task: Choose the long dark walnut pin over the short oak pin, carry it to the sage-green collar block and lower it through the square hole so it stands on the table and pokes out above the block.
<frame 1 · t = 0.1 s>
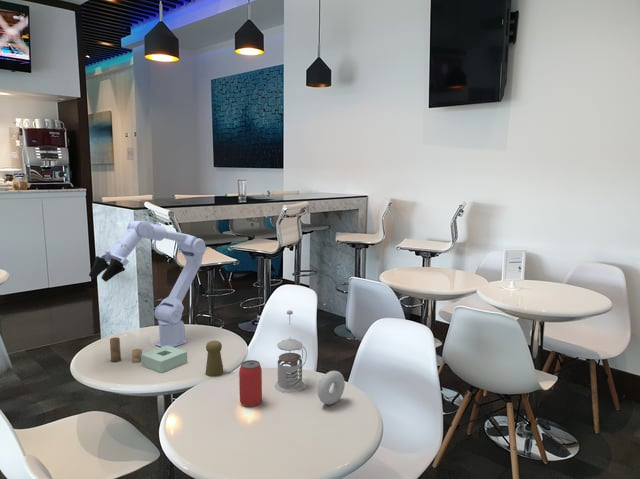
hand: (97, 278, 157), 32 cm above the table, tool tilted 50°, fingers open, 7 cm apart
beer can: (251, 402, 139), on the table
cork: (214, 373, 159), on the table
french press: (292, 385, 150), on the table
long pin: (116, 360, 168), on the table
short pin: (137, 361, 168), on the table
collar block: (164, 363, 166), on the table
donut: (331, 404, 138), on the table
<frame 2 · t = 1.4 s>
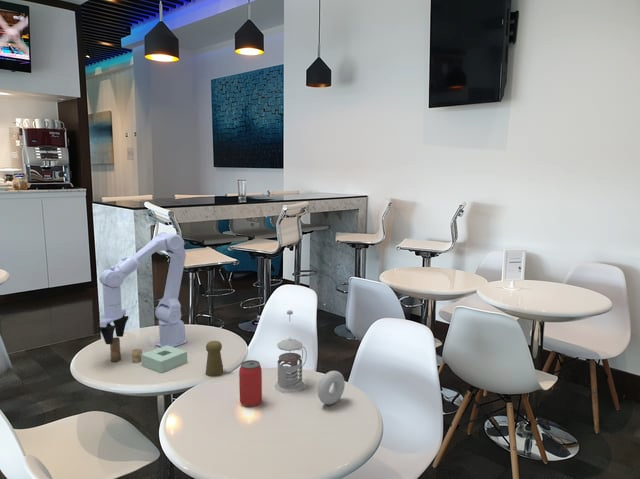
hand: (114, 340, 167), 8 cm above the table, tool pointing down, fingers open, 7 cm apart
nothing on the table moved.
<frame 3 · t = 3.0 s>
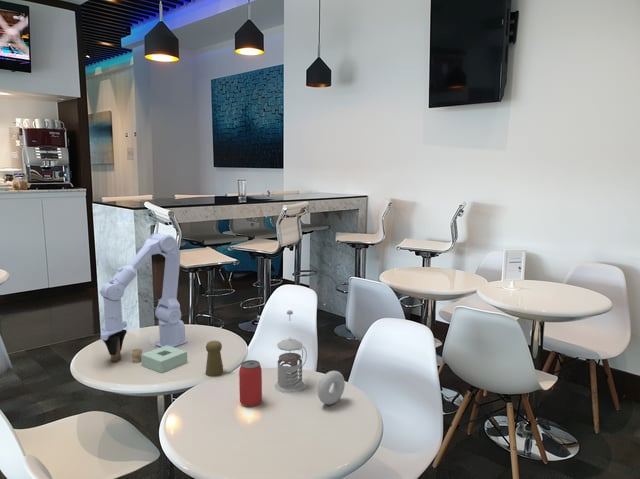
hand: (115, 352, 168), 3 cm above the table, tool pointing down, fingers closed on long pin, 3 cm apart
long pin: (116, 360, 168), on the table, touching gripper
everything else where it was.
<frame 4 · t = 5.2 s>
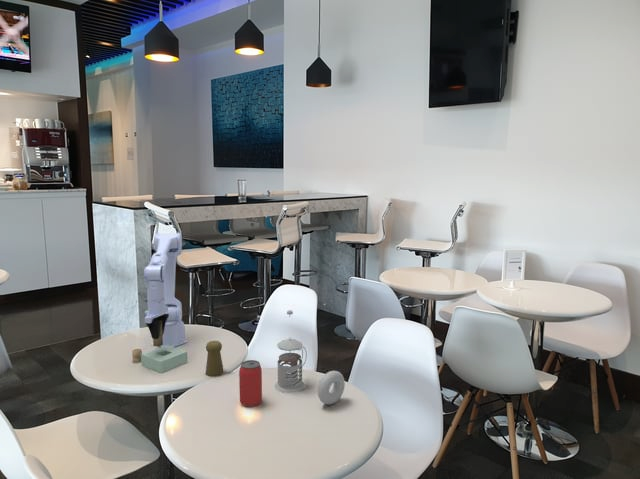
hand: (157, 336, 164), 10 cm above the table, tool pointing down, fingers closed on long pin, 3 cm apart
long pin: (158, 344, 165), point 7 cm above the table, touching gripper
everything else where it was.
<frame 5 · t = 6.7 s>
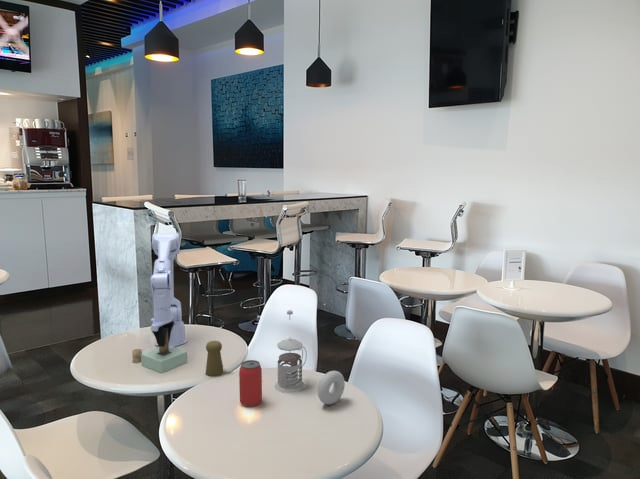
hand: (163, 344, 164), 7 cm above the table, tool pointing down, fingers closed on long pin, 3 cm apart
long pin: (164, 352, 165), point 4 cm above the table, touching gripper
everything else where it was.
when the fingers open (5 cm above the table, at t = 8.0 s): long pin drops 2 cm, resting in collar block.
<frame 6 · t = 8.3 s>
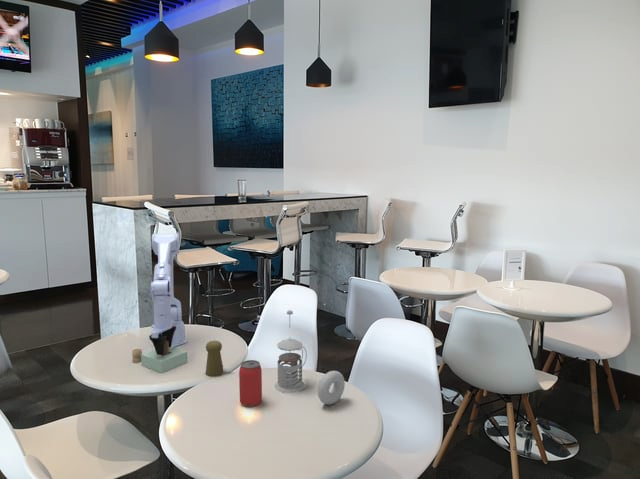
hand: (164, 350, 165), 5 cm above the table, tool pointing down, fingers open, 6 cm apart
long pin: (164, 363, 166), resting in collar block
everything else where it was.
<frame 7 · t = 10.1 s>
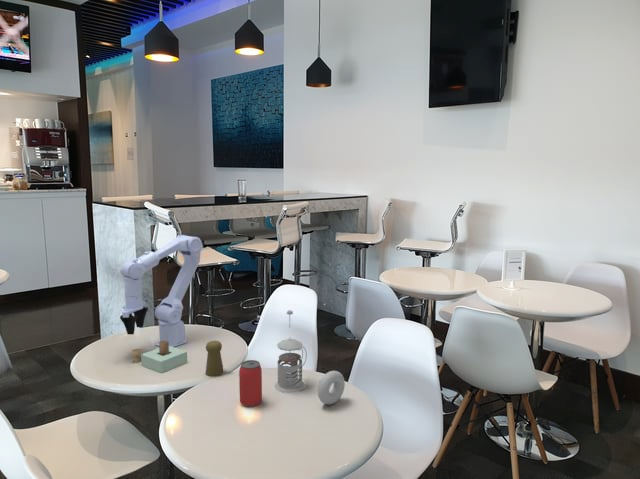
hand: (135, 330, 172), 9 cm above the table, tool pointing down, fingers open, 7 cm apart
nothing on the table moved.
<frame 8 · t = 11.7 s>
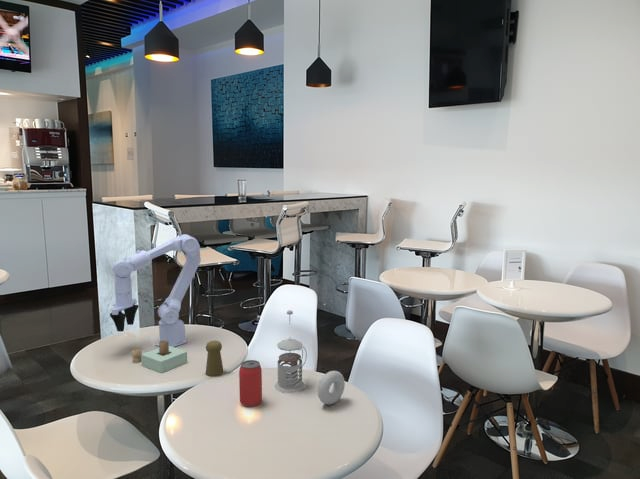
hand: (125, 327, 175), 9 cm above the table, tool pointing down, fingers open, 7 cm apart
nothing on the table moved.
at the end: long pin 0.0 cm off-centre on the collar block, point 0.0 cm above the collar block's base; long pin tilted 0°; short pin moved 0.0 cm from its start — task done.
